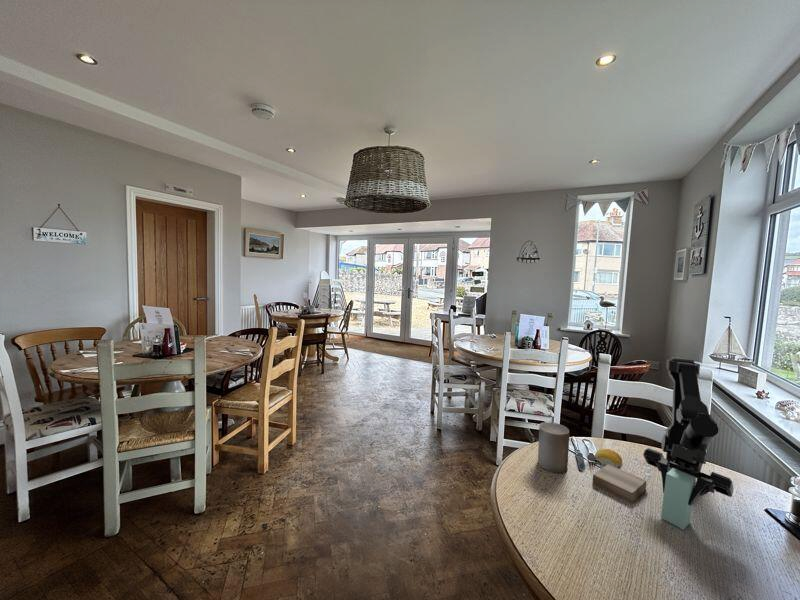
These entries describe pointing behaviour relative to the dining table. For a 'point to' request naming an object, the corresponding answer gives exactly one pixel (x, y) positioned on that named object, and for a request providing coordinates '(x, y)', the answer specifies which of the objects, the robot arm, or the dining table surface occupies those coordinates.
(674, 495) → the pillar
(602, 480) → the walnut base
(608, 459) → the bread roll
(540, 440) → the pillar candle
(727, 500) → the dining table surface
